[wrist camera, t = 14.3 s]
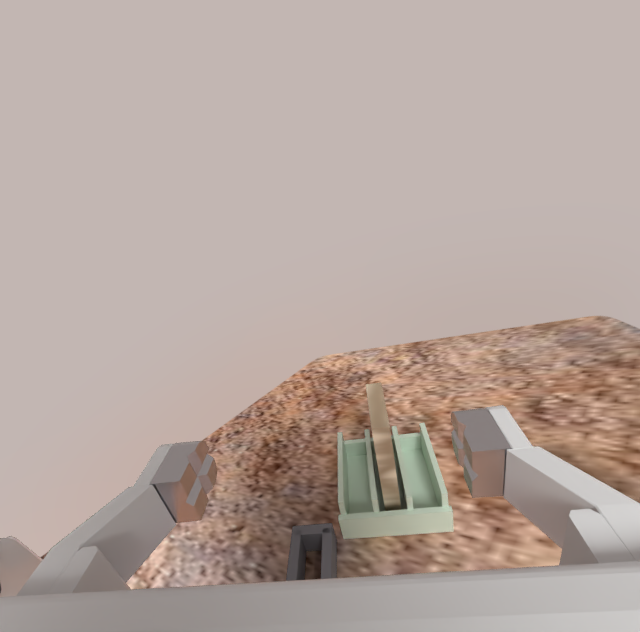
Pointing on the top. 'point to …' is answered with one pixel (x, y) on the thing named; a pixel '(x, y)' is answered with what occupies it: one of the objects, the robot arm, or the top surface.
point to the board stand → (312, 540)
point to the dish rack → (413, 483)
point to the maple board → (383, 446)
